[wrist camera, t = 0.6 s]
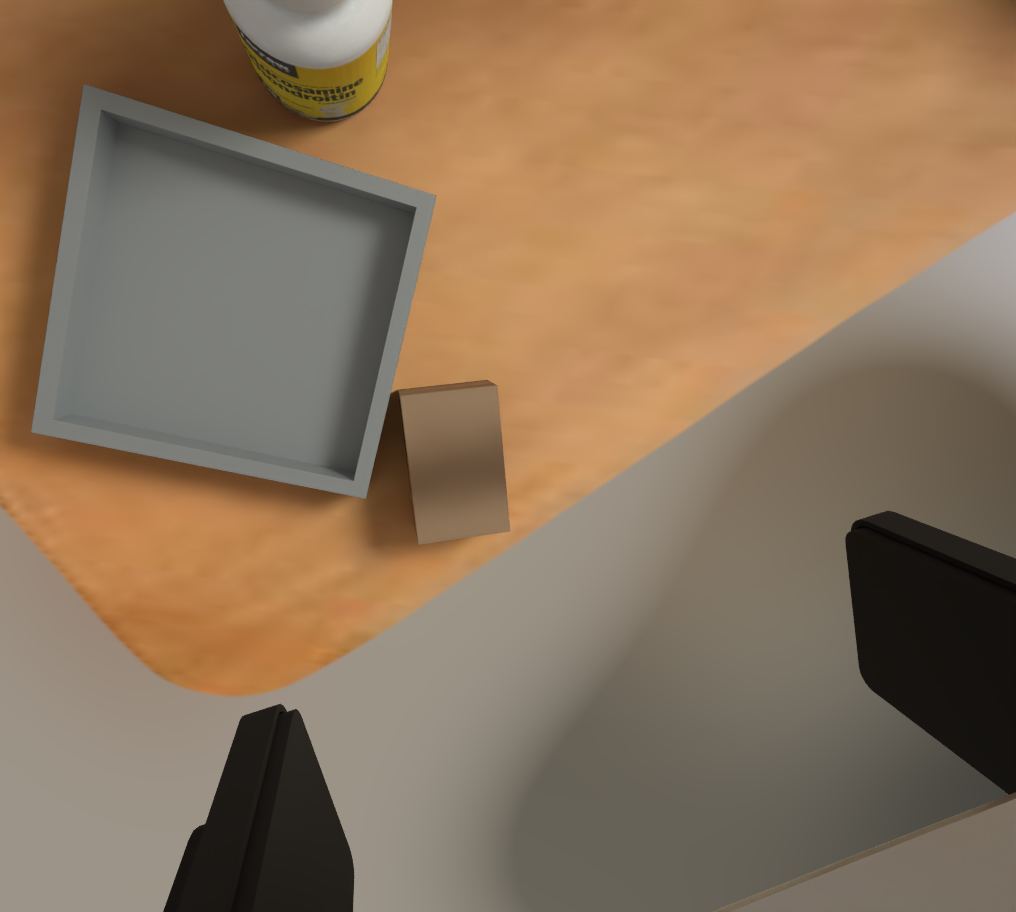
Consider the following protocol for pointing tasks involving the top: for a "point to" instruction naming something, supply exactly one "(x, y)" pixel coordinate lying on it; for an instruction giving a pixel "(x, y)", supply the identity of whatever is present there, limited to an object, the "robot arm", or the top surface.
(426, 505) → the walnut block
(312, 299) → the tray
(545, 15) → the top surface
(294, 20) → the pill bottle
